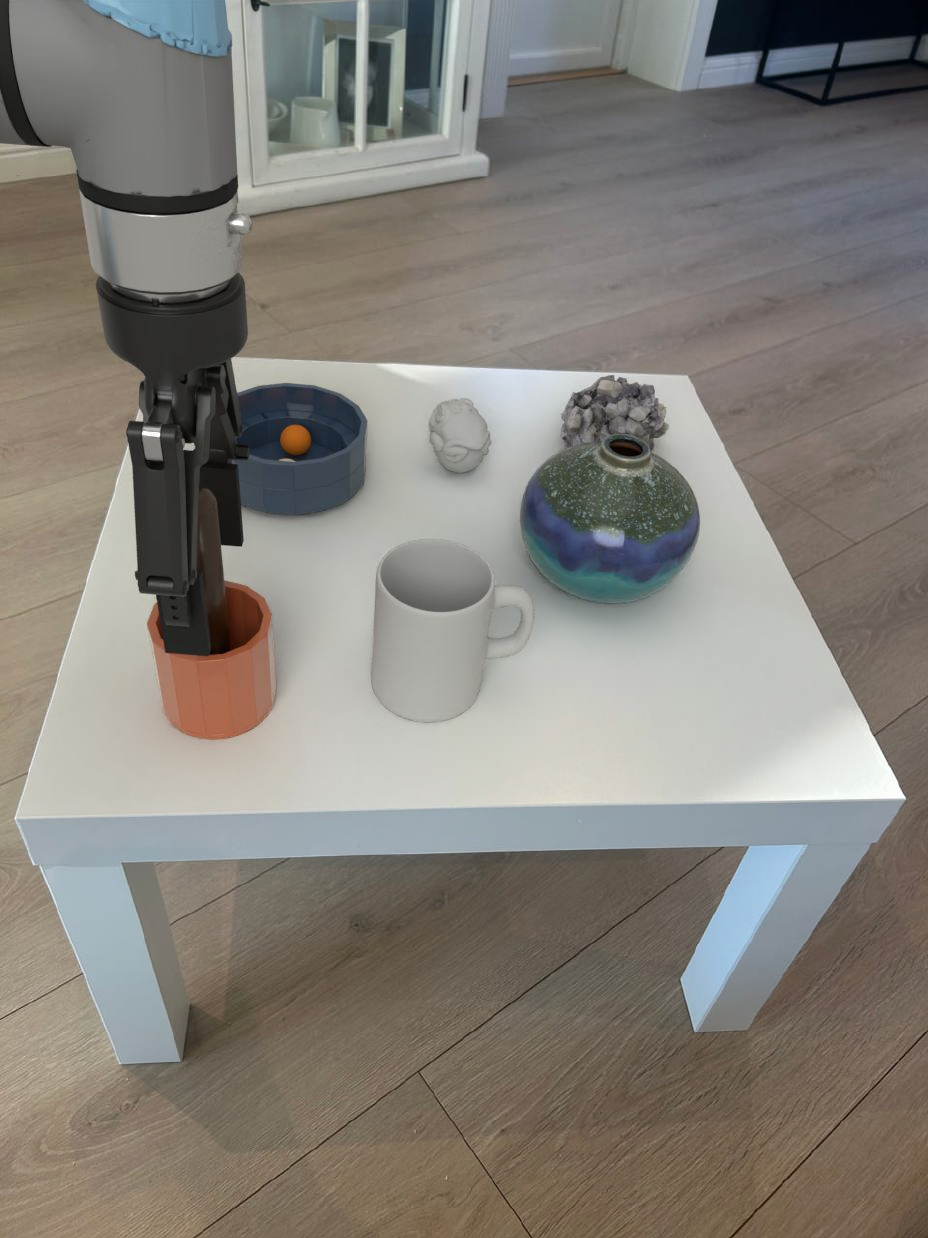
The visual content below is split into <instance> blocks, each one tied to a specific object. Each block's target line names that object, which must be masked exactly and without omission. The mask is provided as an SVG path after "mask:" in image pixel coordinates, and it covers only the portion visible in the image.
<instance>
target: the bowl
mask: <svg viewBox="0 0 928 1238" xmlns="http://www.w3.org/2000/svg"><path fill="white" fill-rule="evenodd" d="M237 395H238V401H239V407H240V413H241V419H242V425H243V426H244V430H243V433H242V435H241V438H239V437H236V440H237V443H242V444H249V459H248V461H239V460H232V464H238V472H239V485H240V498H241V505H242V506H246V507H249V508H251V509H254V510H256V511H260V512H263V513H270V514H282V515H291V516H292V515H293V516H295V515H296V516H297V515H303V514H304V515H305V514H310V513H316V512H317V513H318V512H323V511H327V510H329V509H331V508H334V507H336V506H338V505H340V504H344V503H345V502H348V501H349V500H351V499H352V498H353V496H354V495H356V493H357V492H358V491H359V490H360V489H361V488H362V487H363V486H364V484H365V478H366V472H367V459H368V457H367V456H368V455H367V454H368V426H369V425H368V418H367V417H366V415H365V414H364V412H363V410H362V409H361V407H360V405H358V404H357V403H355V402H354V401H353V400H351V399H349V398H348V397H346V396H345V395H343V394H342V393H340V392H337V391H335V390H332V389H327V388H325V387H321V386H318V385H315V384H305V383H303V384H302V383H293V382H282V383H272V384H262V385H255V386H253V387H251V388H247V389H244V390H242V391H237ZM290 425H300V426H303V427H304V428H305V429H307V431H308V432H309V434H310V436H311V445H310V448H309V449H308V451H307V452H306V453H304V454H302V455H299V456H293V455H290V454H288V453H287V452H285V451H284V449H283V448H282V446H281V443H280V437H281V434H282V432H283V430H284V429H285V428H286V427H288V426H290ZM280 459H291V460H294V461H295V462H290V461H279V460H280Z"/></svg>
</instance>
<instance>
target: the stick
mask: <svg viewBox="0 0 928 1238" xmlns="http://www.w3.org/2000/svg"><path fill="white" fill-rule="evenodd" d="M223 562H224V561H223V551H222V545H221V540H220V530H219V520H218V509H217V501H216V498H215V496H214V494H213V493H212V492H211V490H209V489H208V488H206V487H204V486H201V485H199V502H198V529H197V557H196V569H202V574H203V582H204V591H205V599H206V608H207V616H208V625H209V633H210V642H211V650H210V654H209V655H214V654H224V653H226V652H229V651H231V643H230V632H229V622H228V612H227V602H226V591H225V581H226V580H225V573H224V563H223ZM224 580H225V581H224Z"/></svg>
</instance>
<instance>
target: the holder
mask: <svg viewBox="0 0 928 1238" xmlns="http://www.w3.org/2000/svg"><path fill="white" fill-rule="evenodd" d="M224 581H225V591H226V602H227V612H228V622H229V632H230V643H231V651H229V652H226V653H224V654H214V655H209V656H198V655H185V654H172V653H165V648H164V642H163V636H162V630H161V623H160V617H159V611H158V605H157V602H156V603H155V604H154V605H153V607H152V608H151V612H150V614H149V615H148V616H149V617H148V619H147V621H146V628H147V633H148V639H149V645H150V650H151V655H152V662H153V668H154V673H155V679H156V684H157V689H158V696H159V700H160V703H161V708H162V711H163V714H164V716H165V719H167V721H168V722H169V723H170V725H171V726H173V727H174V728H175V729H176V730H178V731H179V732H180V733H183V734H185V735H187V736H189V737H194V738H197V739H202V740H203V739H204V740H225V739H229V738H233V737H237V736H240V735H243V734H246V733H248V732H249V731H251V730H253V729H254V728H256V727H258V726H259V725H260V724H261V723H262V722H263V721H264V720H265V719H266V718H267V717H268V716H269V714H270V713H271V711H272V708H273V707H274V703H275V700H276V690H277V680H276V679H277V678H276V665H275V663H276V662H275V661H276V660H275V644H274V629H273V628H274V627H273V625H274V624H273V614H272V612H271V609H270V607H269V604H268V603H267V601H266V599H265V597H264V596H263V595H261V594H260V593H258V592H256V591H255V590H254V589H252V588H251V587H249V586H247V584H241V583H237V582H233V581H228V580H225V579H224Z"/></svg>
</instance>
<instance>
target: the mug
mask: <svg viewBox="0 0 928 1238" xmlns="http://www.w3.org/2000/svg"><path fill="white" fill-rule="evenodd" d="M378 563H379V564H378V566H377V569H376V574H375V587H374V589H375V590H374V614H373V635H372V655H371V667H370V669H371V670H370V680H371V681H370V682H371V686H372V690H373V693H374V694H375V697H376V699H377V700H378V701H379V702H380V703H381V705H383V706H384V708H386V709H387V710H389V711H390V712H391V713H393V714H394V715H397V716H398V717H401V718H403V719H406V720H409V721H412V722H413V721H414V722H420V723H438V722H444V721H448V720H451V719H453V718H455V717H457V716H460V715H461V714H463V713H464V712H466V711H467V710H468V709H470V708H471V707H472V705H473V704H474V703H475V701H476V699H477V698H478V696H479V693H480V690H481V685H482V679H483V673H484V667H485V662H486V661H487V660H497V659H498V660H499V659H503V658H504V659H505V658H508V657H512V656H515V655H517V654H518V653H519V652H521V651H522V650H523V649H524V648H525V646H526V645H527V643H528V641H530V637H531V634H532V632H533V628H534V623H535V605H534V601H533V598H532V596H531V593H530V592H529V591H528V590H527V589H525V588H523V587H521V586H517V585H511V584H509V585H508V584H496V579H495V573H494V571H493V568H492V566H491V565H490V563H489V562H488V561H487V560H486V558H485V557H484V556H482V555H481V554H480V553H479V552H477V551H476V550H475V549H473V548H471V547H469V546H467V545H464V544H462V543H459V542H456V541H453V540H447V539H442V538H420V539H415V540H410V541H407V542H404V543H401V544H399V545H397V546H394V547H393V548H392V549H390V550H389V551H388V552H387V553H386V554H385V555H384V556H383V557H382V558H381V560H380V562H378ZM506 607H514V608H518V609H519V610H520V620H519V623H518V626H517V627H516V629H515V630H514V631H513V633H511V634H510V635H507V636H505V637H489V630H490V625H491V621H492V616H493V612H494V610H497V609H500V608H506Z"/></svg>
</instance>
